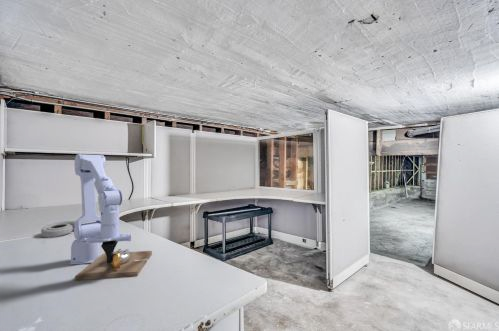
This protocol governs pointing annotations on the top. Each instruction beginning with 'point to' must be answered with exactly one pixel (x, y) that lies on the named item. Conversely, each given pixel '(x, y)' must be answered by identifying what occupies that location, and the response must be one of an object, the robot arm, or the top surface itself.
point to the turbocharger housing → (58, 229)
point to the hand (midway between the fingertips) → (109, 262)
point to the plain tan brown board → (103, 270)
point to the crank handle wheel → (119, 258)
